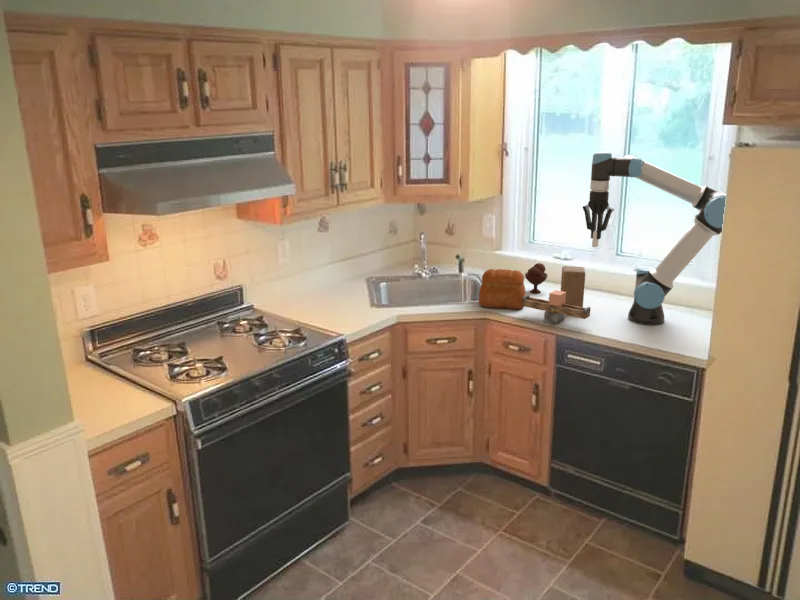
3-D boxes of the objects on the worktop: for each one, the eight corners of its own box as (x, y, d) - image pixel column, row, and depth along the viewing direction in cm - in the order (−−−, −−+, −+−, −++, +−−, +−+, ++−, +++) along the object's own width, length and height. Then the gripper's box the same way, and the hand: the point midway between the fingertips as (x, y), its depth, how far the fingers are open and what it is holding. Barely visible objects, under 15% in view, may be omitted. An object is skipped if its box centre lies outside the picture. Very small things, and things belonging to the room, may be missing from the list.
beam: (590, 326, 295) (591, 306, 292) (582, 331, 289) (584, 310, 286) (528, 312, 313) (529, 294, 310) (519, 317, 307) (520, 298, 304)
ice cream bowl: (532, 288, 352) (534, 259, 347) (550, 292, 344) (552, 263, 339) (519, 292, 345) (521, 263, 340) (537, 296, 337) (539, 267, 333)
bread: (523, 311, 315) (525, 276, 310) (477, 308, 319) (478, 274, 314) (525, 300, 331) (527, 267, 326) (481, 298, 336) (482, 264, 331)
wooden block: (582, 314, 310) (585, 272, 304) (559, 313, 312) (562, 271, 306) (581, 308, 319) (584, 266, 313) (559, 306, 321) (562, 265, 315)
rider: (565, 305, 299) (566, 292, 297) (559, 309, 294) (560, 295, 293) (554, 303, 302) (555, 290, 300) (548, 306, 297) (549, 293, 296)
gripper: (618, 190, 280) (613, 246, 287) (588, 188, 288) (584, 242, 295) (611, 192, 274) (606, 250, 281) (580, 190, 282) (576, 246, 289)
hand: (595, 246), depth 288 cm, fingers closed
